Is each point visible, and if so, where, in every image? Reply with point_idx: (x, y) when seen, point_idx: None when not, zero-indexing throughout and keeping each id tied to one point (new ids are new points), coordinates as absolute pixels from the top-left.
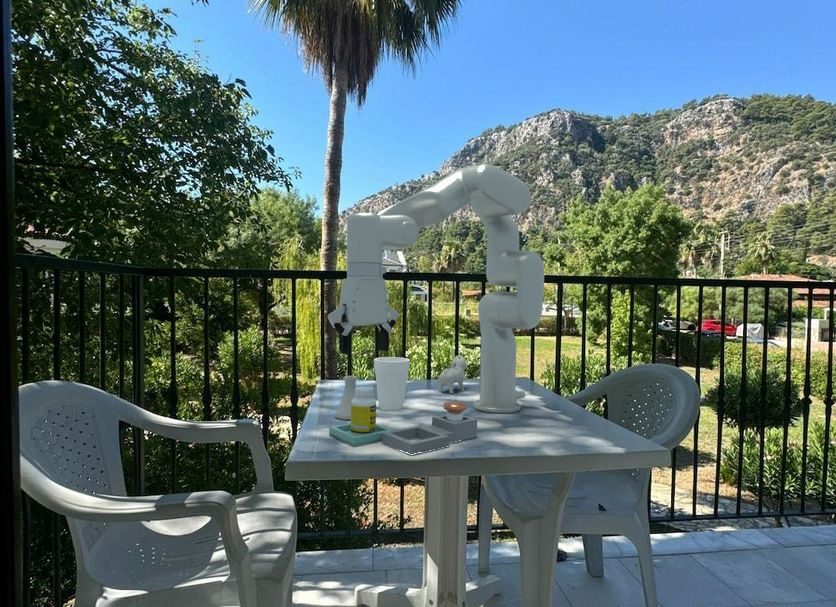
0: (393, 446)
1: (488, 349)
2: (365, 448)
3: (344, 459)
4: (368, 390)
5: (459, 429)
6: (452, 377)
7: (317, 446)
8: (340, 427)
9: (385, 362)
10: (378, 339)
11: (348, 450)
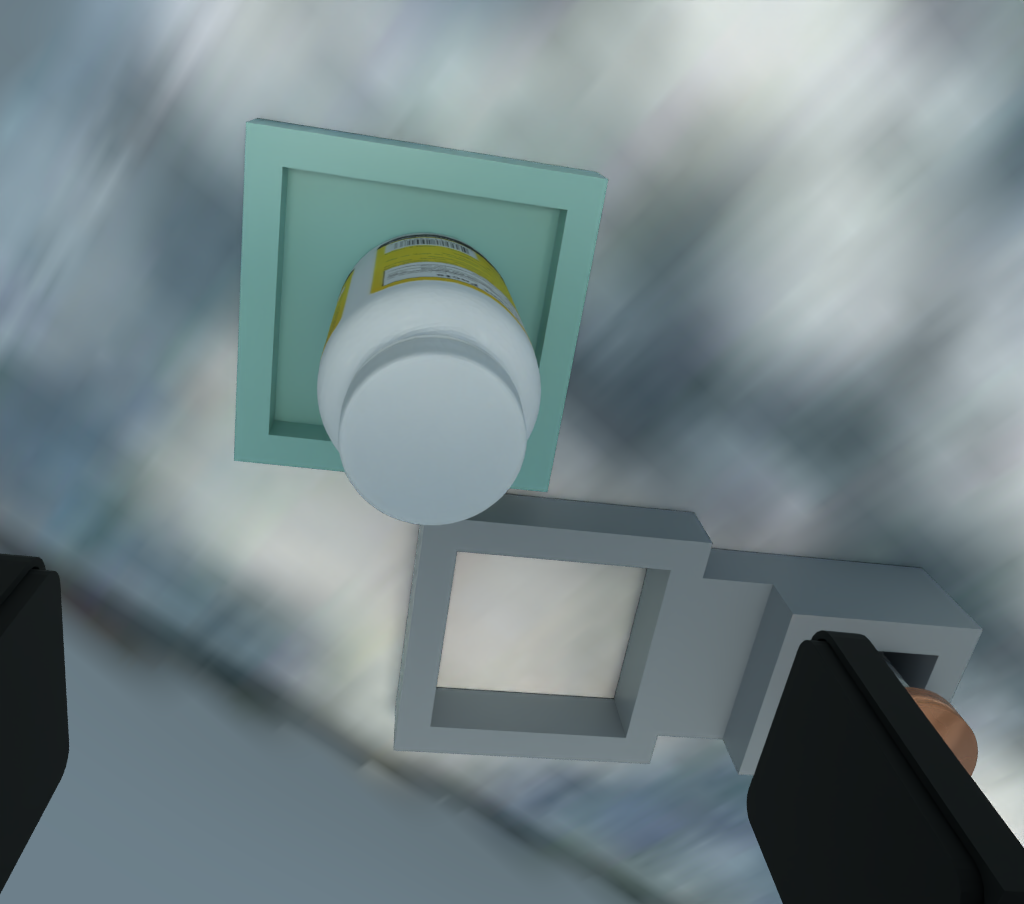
0: (411, 589)
1: None
2: (286, 495)
3: (79, 560)
4: (412, 523)
5: None
6: None
7: (54, 278)
8: (328, 171)
9: None
10: (876, 773)
11: (182, 462)
